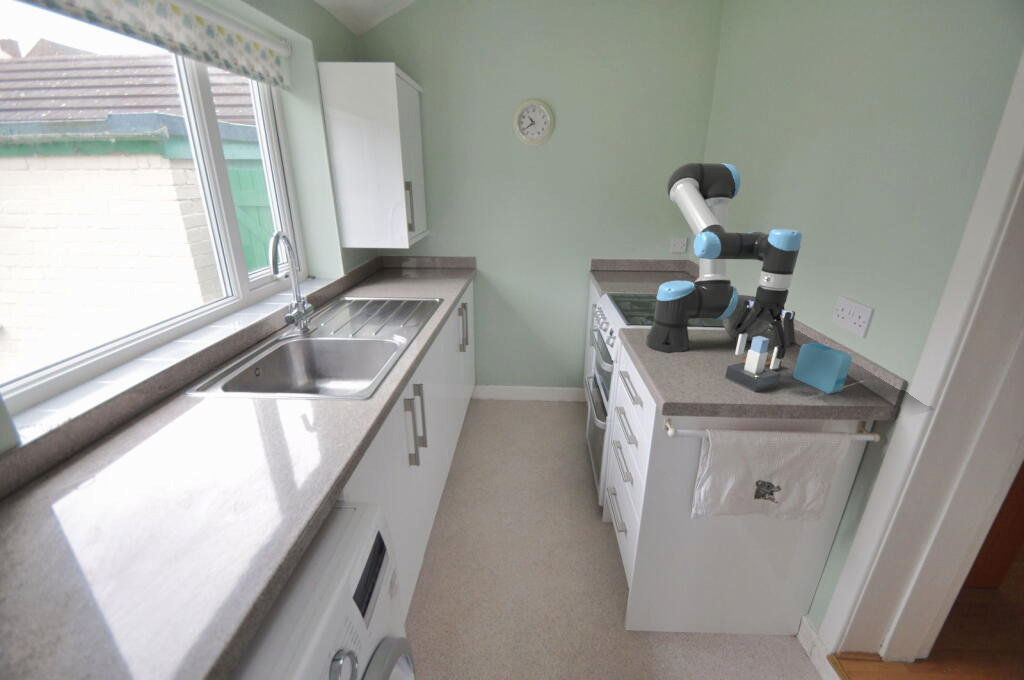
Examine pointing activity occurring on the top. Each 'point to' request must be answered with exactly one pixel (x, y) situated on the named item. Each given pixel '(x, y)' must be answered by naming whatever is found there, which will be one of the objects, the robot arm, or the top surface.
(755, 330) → the grey metal pot
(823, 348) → the data package
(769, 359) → the frame
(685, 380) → the top surface
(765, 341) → the plug
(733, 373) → the port
